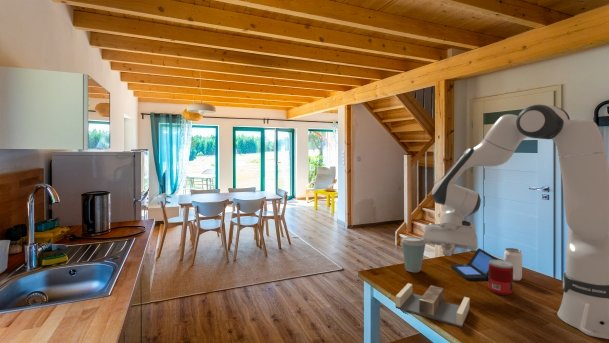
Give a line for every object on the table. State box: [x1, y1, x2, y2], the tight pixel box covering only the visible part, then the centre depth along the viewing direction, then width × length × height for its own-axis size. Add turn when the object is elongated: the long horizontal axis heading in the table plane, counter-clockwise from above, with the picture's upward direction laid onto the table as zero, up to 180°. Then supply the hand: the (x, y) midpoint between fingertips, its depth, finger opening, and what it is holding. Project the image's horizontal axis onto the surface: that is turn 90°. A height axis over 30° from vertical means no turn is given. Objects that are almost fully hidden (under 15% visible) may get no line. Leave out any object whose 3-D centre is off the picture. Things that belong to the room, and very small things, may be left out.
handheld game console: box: [450, 248, 499, 281], centre depth 138 cm, size 16×13×9 cm
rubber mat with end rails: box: [395, 282, 471, 328], centre depth 107 cm, size 21×13×4 cm, turn 53°
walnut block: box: [419, 284, 444, 315], centre depth 109 cm, size 4×4×14 cm
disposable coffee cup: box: [401, 236, 427, 273], centre depth 142 cm, size 11×11×15 cm
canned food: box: [487, 259, 514, 296], centre depth 120 cm, size 8×8×11 cm
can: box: [503, 247, 523, 281], centre depth 132 cm, size 6×6×12 cm
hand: (446, 254), depth 123 cm, fingers closed
